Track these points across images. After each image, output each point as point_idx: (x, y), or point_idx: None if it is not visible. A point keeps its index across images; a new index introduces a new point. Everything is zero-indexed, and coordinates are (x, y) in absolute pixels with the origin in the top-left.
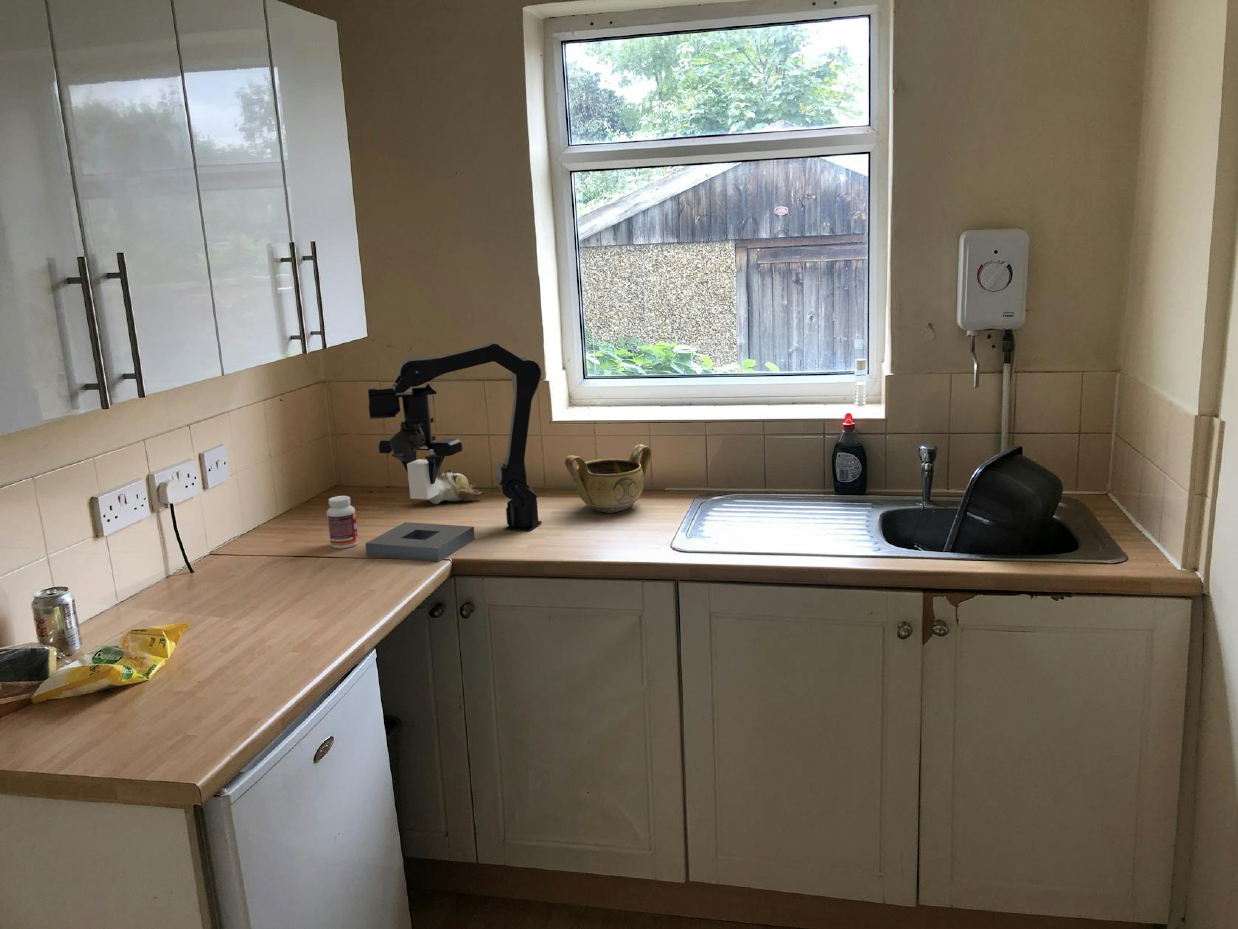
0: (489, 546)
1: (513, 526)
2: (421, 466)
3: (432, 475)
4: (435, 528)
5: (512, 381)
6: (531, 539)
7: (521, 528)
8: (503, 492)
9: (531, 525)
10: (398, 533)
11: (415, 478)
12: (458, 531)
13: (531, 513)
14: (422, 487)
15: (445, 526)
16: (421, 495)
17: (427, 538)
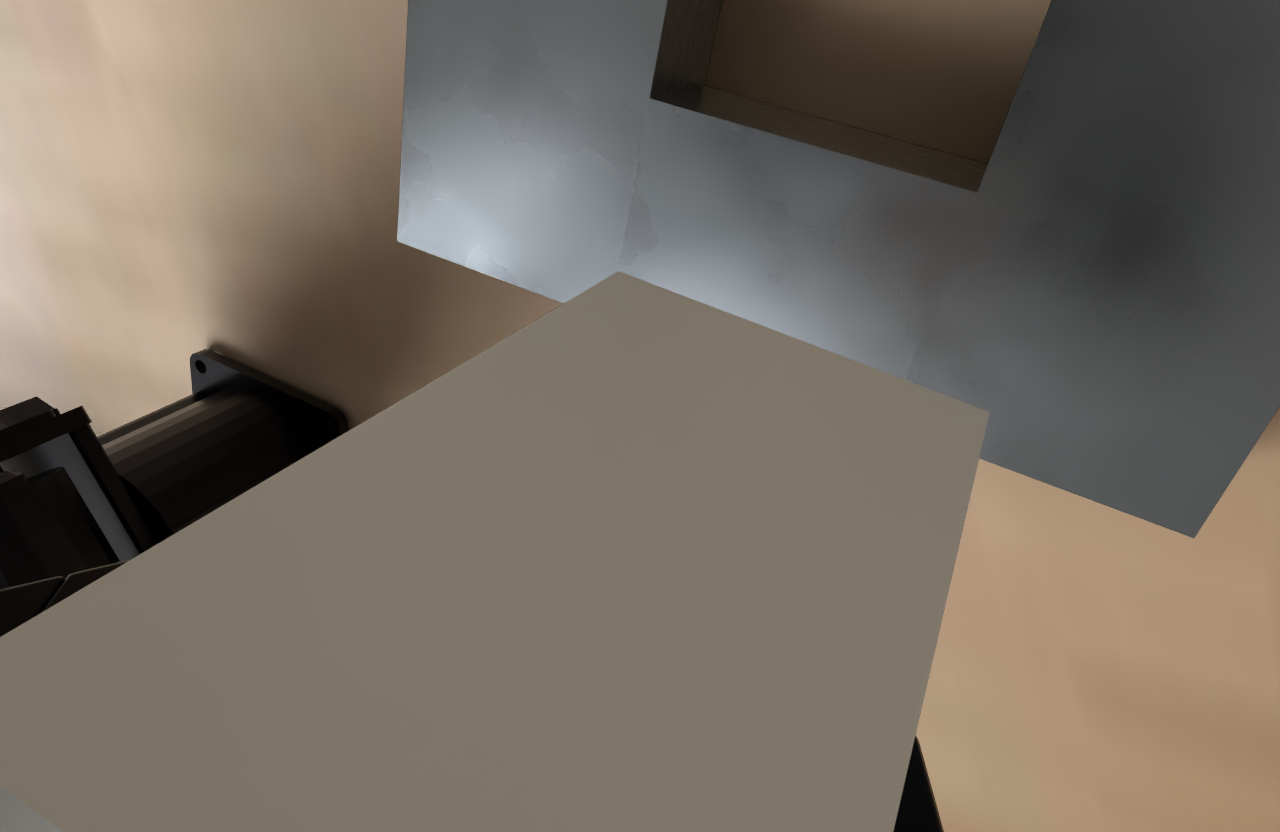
0: (301, 6)
1: (293, 419)
2: (94, 723)
3: None
4: (738, 218)
5: None
6: (132, 174)
7: (240, 375)
8: (10, 473)
9: (190, 396)
10: (1227, 13)
11: (666, 578)
12: (468, 81)
13: (111, 431)
14: (593, 383)
15: (651, 278)
16: (709, 336)
17: (846, 134)
